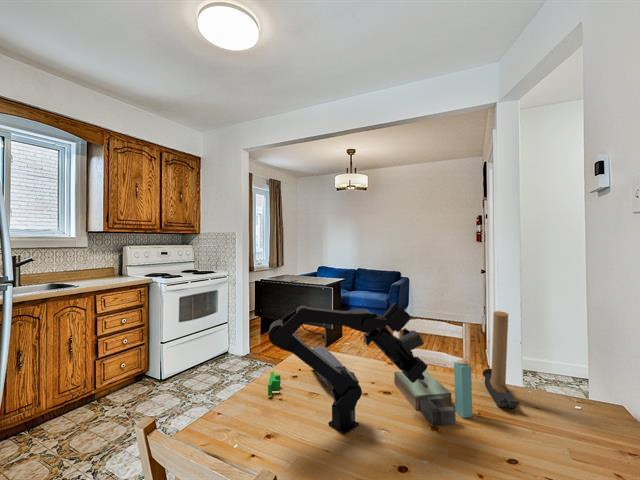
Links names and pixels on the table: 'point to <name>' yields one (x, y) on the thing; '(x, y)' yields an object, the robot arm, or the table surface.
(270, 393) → the pipe clamp
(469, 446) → the table surface
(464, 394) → the teal rectangular block
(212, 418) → the table surface
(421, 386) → the toolbox
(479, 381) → the table surface
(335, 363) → the bluetooth speaker
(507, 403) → the hammer
